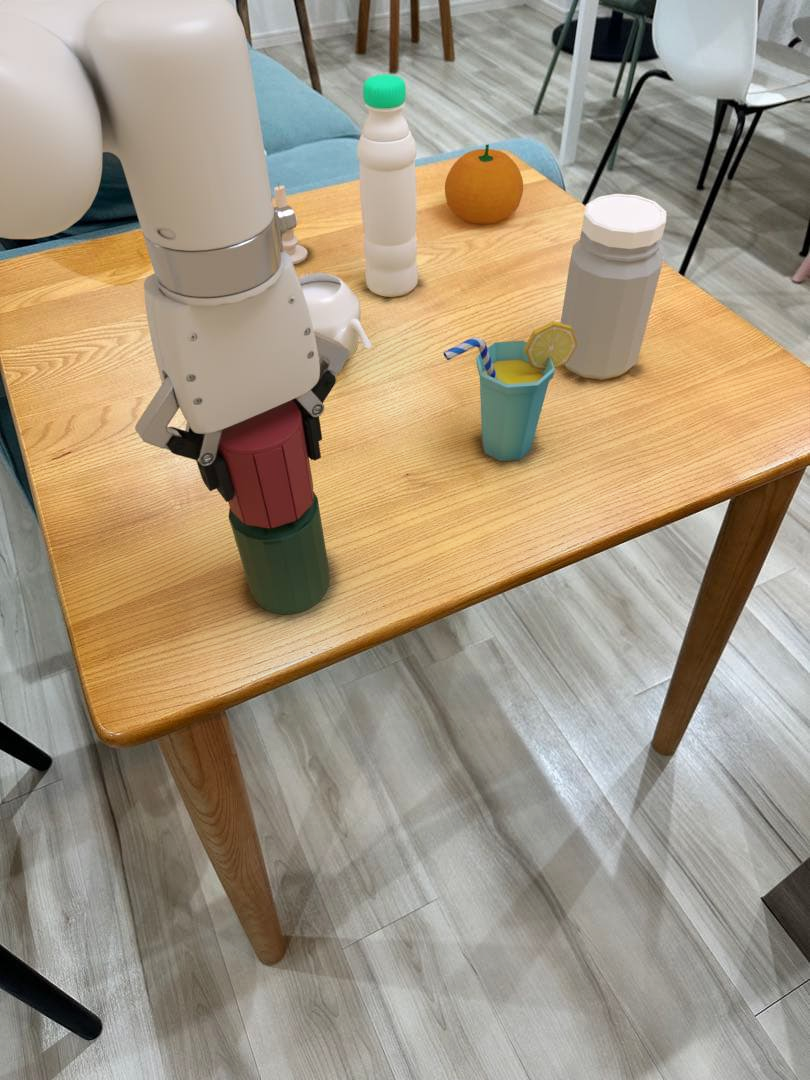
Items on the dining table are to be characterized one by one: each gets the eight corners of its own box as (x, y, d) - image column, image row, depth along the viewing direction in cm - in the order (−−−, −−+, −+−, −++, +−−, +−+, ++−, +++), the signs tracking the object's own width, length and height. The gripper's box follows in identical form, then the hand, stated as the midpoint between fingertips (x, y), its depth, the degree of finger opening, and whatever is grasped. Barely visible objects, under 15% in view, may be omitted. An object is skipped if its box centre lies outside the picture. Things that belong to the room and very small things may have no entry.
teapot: (339, 411, 84) (331, 340, 77) (249, 333, 94) (234, 265, 87) (405, 378, 88) (403, 307, 81) (312, 307, 98) (303, 239, 91)
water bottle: (427, 280, 102) (427, 74, 83) (399, 304, 98) (393, 94, 79) (384, 267, 104) (375, 64, 86) (356, 290, 101) (339, 83, 82)
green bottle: (248, 617, 66) (211, 499, 54) (252, 555, 70) (219, 434, 59) (330, 611, 66) (310, 492, 54) (329, 549, 70) (310, 428, 59)
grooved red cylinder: (227, 531, 57) (204, 455, 51) (233, 470, 62) (212, 393, 56) (313, 525, 57) (300, 447, 51) (313, 464, 62) (300, 386, 56)
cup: (461, 493, 75) (467, 370, 64) (424, 447, 80) (424, 325, 68) (574, 447, 79) (599, 324, 68) (533, 407, 84) (550, 285, 72)
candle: (264, 259, 106) (251, 186, 99) (286, 244, 109) (275, 171, 101) (293, 269, 105) (282, 194, 97) (314, 252, 107) (306, 179, 100)
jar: (654, 366, 88) (696, 217, 74) (590, 394, 85) (621, 244, 71) (599, 327, 94) (629, 181, 80) (537, 352, 90) (557, 205, 77)
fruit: (446, 195, 118) (448, 128, 111) (520, 197, 117) (527, 129, 110) (441, 231, 111) (442, 161, 103) (520, 233, 110) (527, 163, 102)
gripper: (311, 187, 49) (336, 402, 62) (50, 270, 43) (141, 489, 56) (373, 231, 45) (386, 451, 58) (94, 329, 39) (181, 550, 52)
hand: (265, 468), depth 57 cm, fingers closed on grooved red cylinder, 6 cm apart
